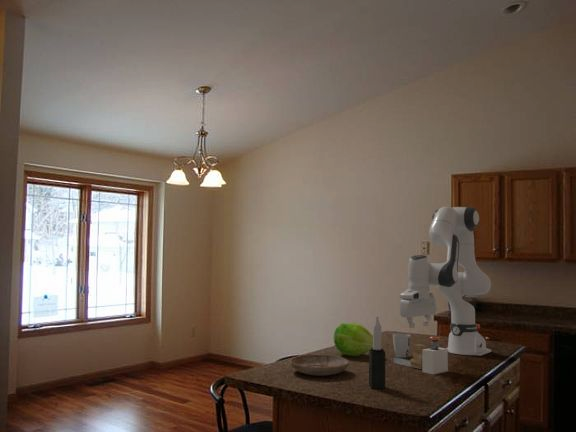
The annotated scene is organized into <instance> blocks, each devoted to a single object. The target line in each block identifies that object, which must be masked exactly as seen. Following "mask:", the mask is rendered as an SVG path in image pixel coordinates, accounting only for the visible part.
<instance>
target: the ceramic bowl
mask: <svg viewBox="0 0 576 432" xmlns="http://www.w3.org/2000/svg"><path fill="white" fill-rule="evenodd" d="M349 363H350V362H349V360H348V359H346V358H344V357H342V356H338V355H329V354H307V355H299V356H294V357H292V358H291V359H290V361H289V364H290V366H291V367H292V368H293V369H294V370H295V371H297V372H299V373H301V374H304V375H308V376H317V377H324V376H325V377H326V376H333V375H336V374H340V373H341V372H343V371H345V370H346V369H347V368H348V367H349Z"/></svg>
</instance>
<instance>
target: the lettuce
mask: <svg viewBox="0 0 576 432" xmlns="http://www.w3.org/2000/svg"><path fill="white" fill-rule="evenodd" d="M333 343H334V346H335V347H336V349H337V350H338V352H340V354H342V355H344V356H349V357H360V356H362V355H364V354H366V353H367V352H369V350H371V348H373V333H371V332H370V331H369V330H368V329H367V328H366V327H365V326H364V325H362V324H360V323H356V322H344V323H343V322H342V323H340V324H339V325H338V326H337V327H336V328H335V330H334V333H333Z"/></svg>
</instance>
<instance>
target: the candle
mask: <svg viewBox="0 0 576 432" xmlns="http://www.w3.org/2000/svg"><path fill="white" fill-rule="evenodd" d="M375 318H376V319H375V321H374V322H375V323H374V324H373V326H372V335H373V348H371V350H369V351H368V352H369V353H368V354H369V356H368V358H369V359H368V367H369V368H368V387H370V388H371V389H372V390H385V389H386V351H385V349H384V348H382V324H381V323H380V321H379V316H376V317H375Z"/></svg>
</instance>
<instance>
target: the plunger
mask: <svg viewBox="0 0 576 432" xmlns="http://www.w3.org/2000/svg"><path fill="white" fill-rule="evenodd" d="M429 340H431V341H430V342H431V343H430V344H431V346H430V348H431V350H439V347H440V346H439V343H440V342H439V341H440V340H441V337H440V336H429Z"/></svg>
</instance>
